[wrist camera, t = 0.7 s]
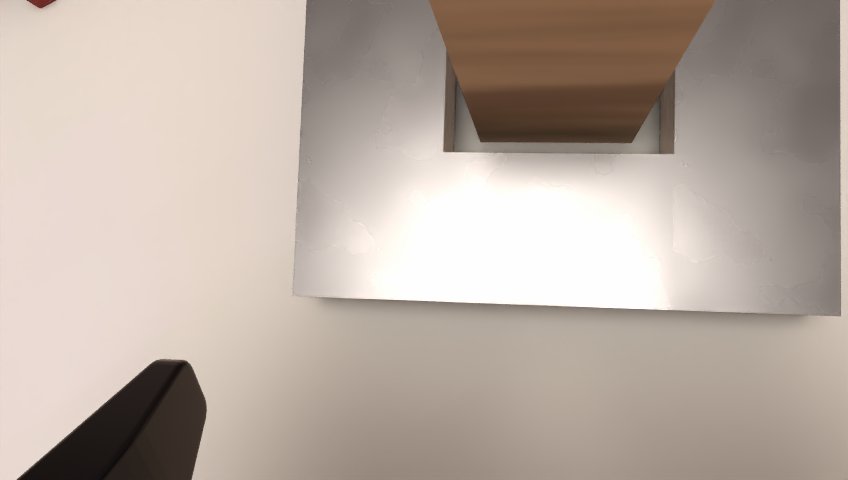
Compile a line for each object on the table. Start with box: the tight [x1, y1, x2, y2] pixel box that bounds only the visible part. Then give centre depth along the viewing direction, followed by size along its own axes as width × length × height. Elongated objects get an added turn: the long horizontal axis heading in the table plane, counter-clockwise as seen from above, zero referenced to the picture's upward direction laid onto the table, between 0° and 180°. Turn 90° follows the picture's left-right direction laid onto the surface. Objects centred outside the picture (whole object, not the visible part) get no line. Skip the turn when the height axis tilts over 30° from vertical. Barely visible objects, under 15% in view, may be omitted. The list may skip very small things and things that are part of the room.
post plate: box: [293, 0, 841, 316], centre depth 22 cm, size 14×14×2 cm
